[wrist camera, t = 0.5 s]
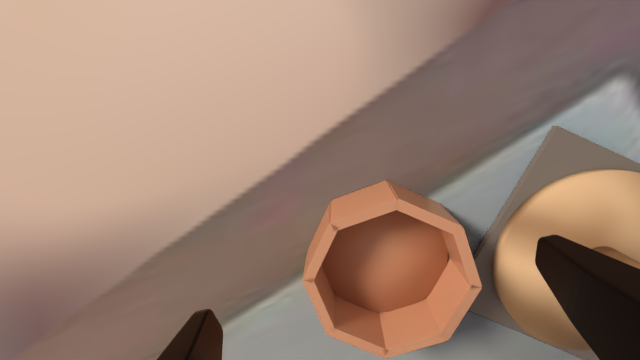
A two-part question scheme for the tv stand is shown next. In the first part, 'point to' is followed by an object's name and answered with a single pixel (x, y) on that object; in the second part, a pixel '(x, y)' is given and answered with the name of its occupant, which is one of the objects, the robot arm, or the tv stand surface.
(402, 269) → the terracotta bowl
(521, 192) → the rubber mat
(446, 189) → the tv stand surface
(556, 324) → the oak lid
